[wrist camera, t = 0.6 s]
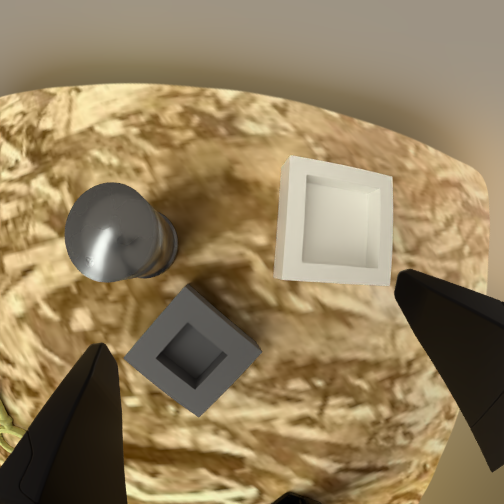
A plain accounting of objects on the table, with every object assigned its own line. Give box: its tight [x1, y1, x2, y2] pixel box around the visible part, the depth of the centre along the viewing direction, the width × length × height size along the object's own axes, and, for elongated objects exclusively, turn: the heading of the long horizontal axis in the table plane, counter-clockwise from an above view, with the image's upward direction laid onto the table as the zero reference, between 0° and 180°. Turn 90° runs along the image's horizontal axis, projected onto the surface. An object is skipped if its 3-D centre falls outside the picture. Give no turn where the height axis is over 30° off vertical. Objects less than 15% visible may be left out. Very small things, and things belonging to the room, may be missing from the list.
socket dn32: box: [124, 284, 262, 417], centre depth 20 cm, size 7×7×3 cm
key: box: [0, 400, 26, 453], centre depth 17 cm, size 7×12×2 cm, turn 27°
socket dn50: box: [273, 155, 393, 286], centre depth 22 cm, size 9×9×3 cm
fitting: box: [65, 182, 178, 282], centre depth 17 cm, size 5×5×9 cm
